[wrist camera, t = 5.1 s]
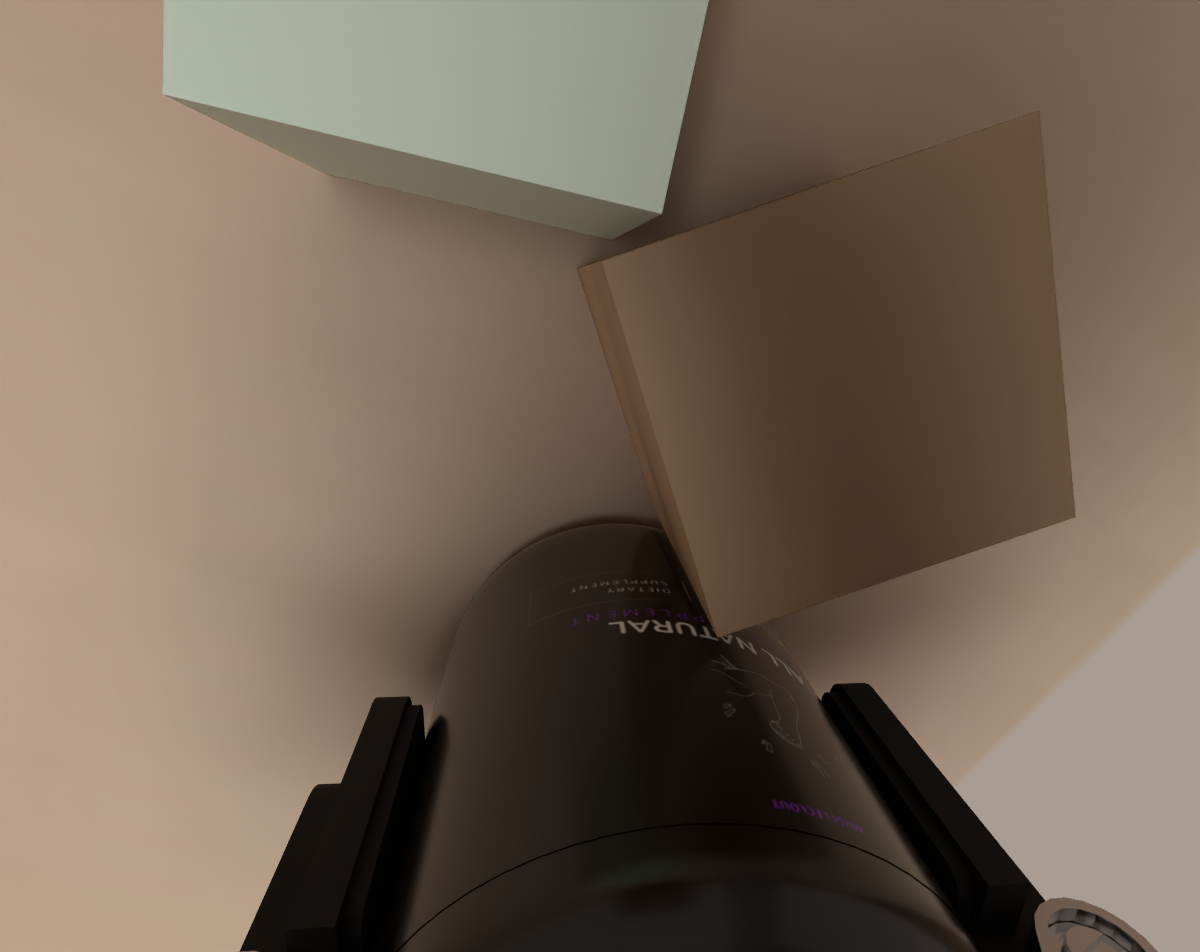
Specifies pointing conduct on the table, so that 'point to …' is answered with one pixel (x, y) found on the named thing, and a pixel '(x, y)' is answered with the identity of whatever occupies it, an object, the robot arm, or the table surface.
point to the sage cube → (455, 95)
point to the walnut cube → (847, 376)
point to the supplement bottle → (641, 781)
